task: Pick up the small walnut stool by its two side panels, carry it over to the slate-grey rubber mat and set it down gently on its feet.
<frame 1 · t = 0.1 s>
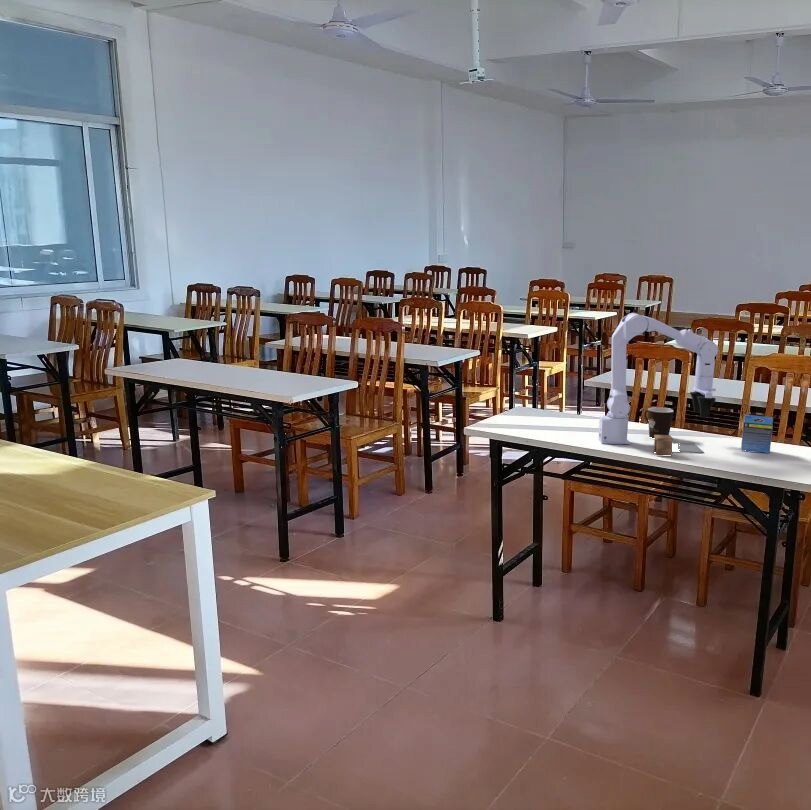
hand: (700, 415, 281), 10 cm above the table, tool pointing down, fingers open, 7 cm apart
mat: (680, 448, 277), on the table
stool: (662, 454, 269), on the table
label tape box: (755, 451, 274), on the table
coffee mug: (657, 437, 293), on the table
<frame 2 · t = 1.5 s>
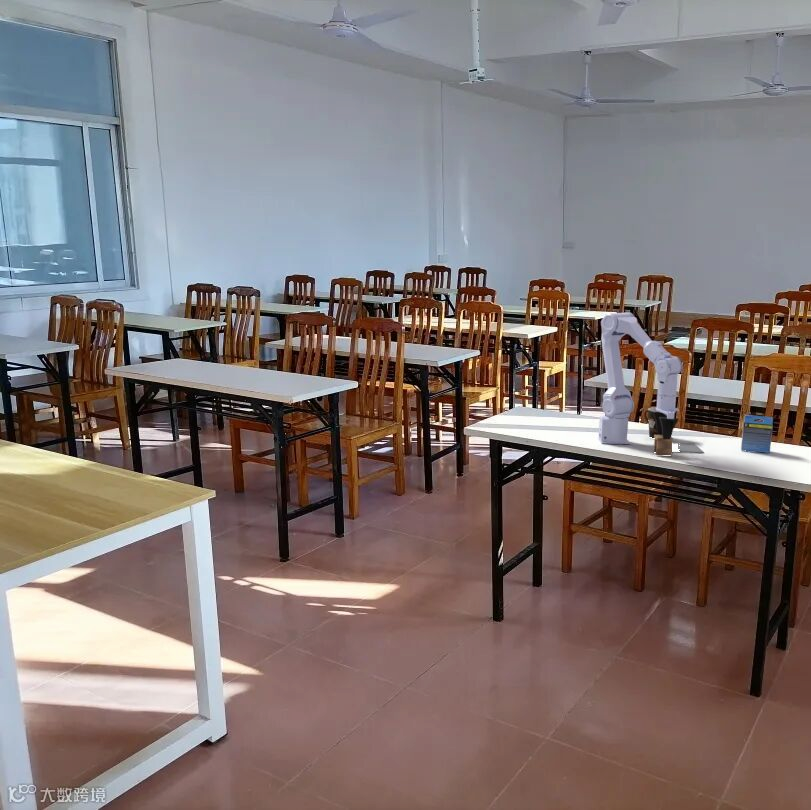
hand: (663, 436, 267), 6 cm above the table, tool pointing down, fingers open, 7 cm apart
nothing on the table moved.
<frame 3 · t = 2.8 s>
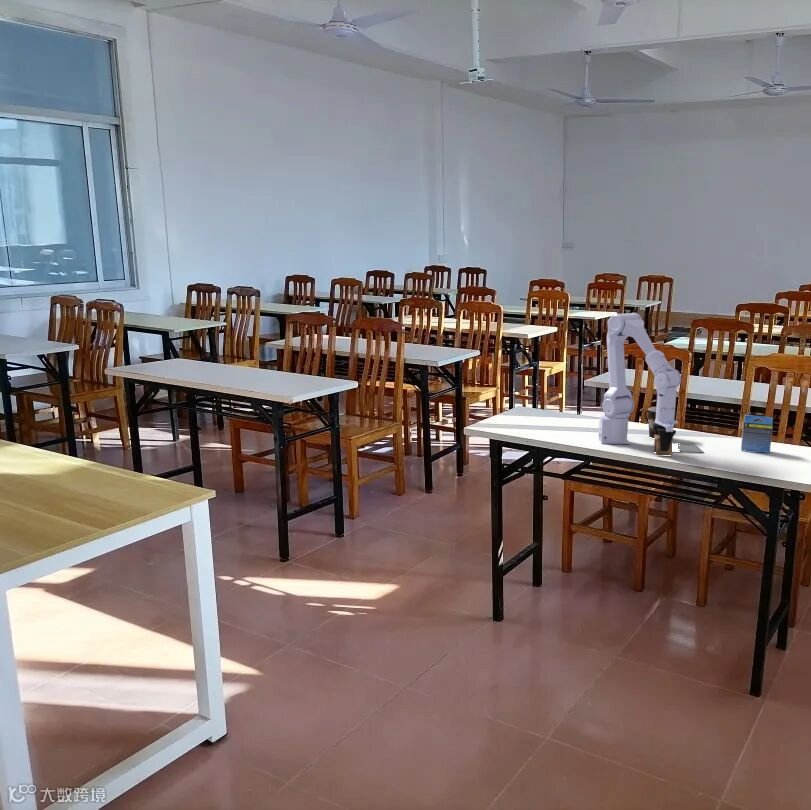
hand: (662, 448, 268), 2 cm above the table, tool pointing down, fingers closed on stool, 4 cm apart
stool: (662, 454, 269), on the table, touching gripper
everything else where it was.
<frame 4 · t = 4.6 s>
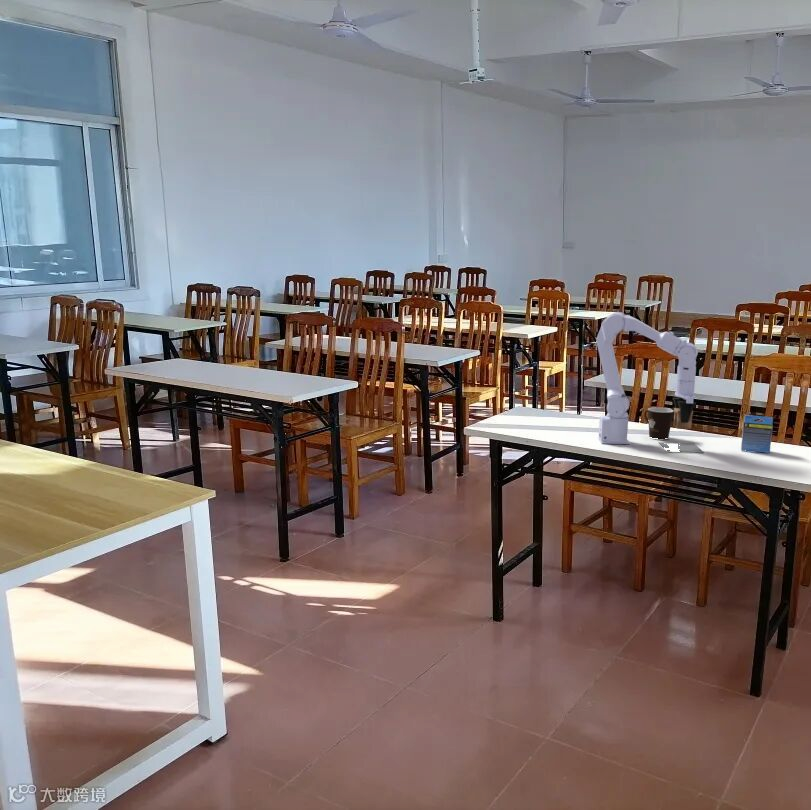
hand: (682, 420, 275), 9 cm above the table, tool pointing down, fingers closed on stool, 4 cm apart
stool: (682, 427, 275), point 7 cm above the table, touching gripper
everything else where it was.
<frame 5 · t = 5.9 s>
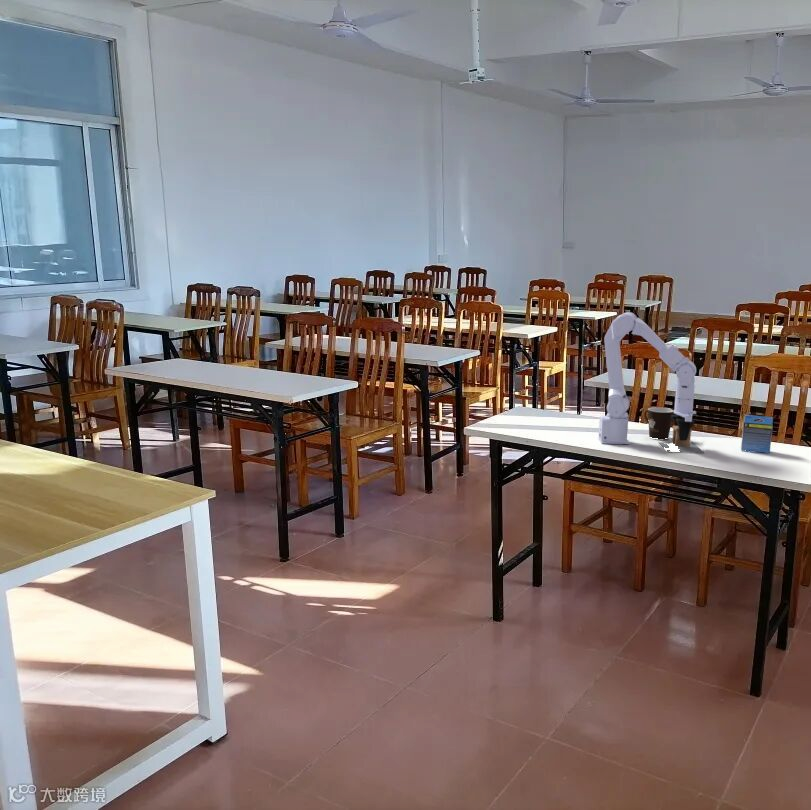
hand: (681, 438, 276), 3 cm above the table, tool pointing down, fingers closed on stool, 4 cm apart
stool: (680, 444, 277), point 1 cm above the table, touching gripper
everything else where it was.
when the fingers open (3 cm above the table, at t = 6.5 s): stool stays where it is, resting on mat.
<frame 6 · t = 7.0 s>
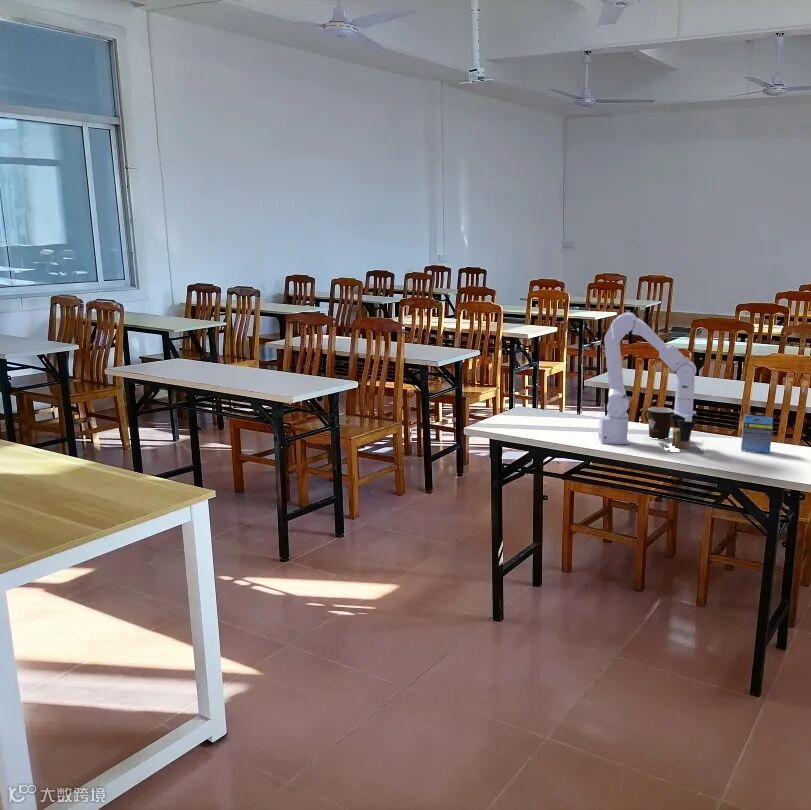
hand: (681, 438, 276), 3 cm above the table, tool pointing down, fingers open, 7 cm apart
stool: (680, 447, 277), resting on mat
everything else where it was.
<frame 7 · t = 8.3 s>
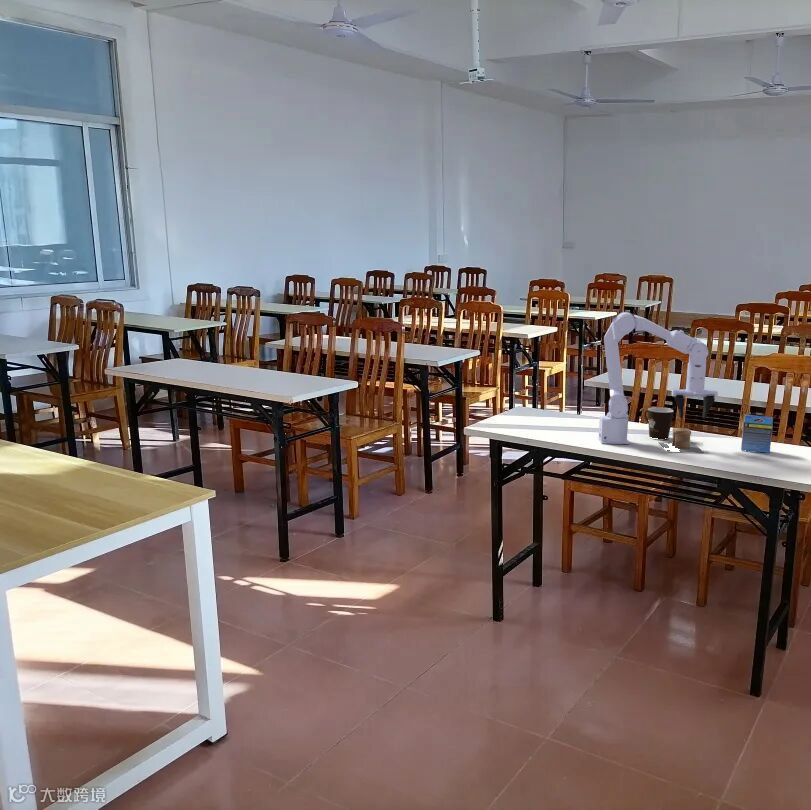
hand: (692, 417, 278), 10 cm above the table, tool pointing down, fingers open, 7 cm apart
nothing on the table moved.
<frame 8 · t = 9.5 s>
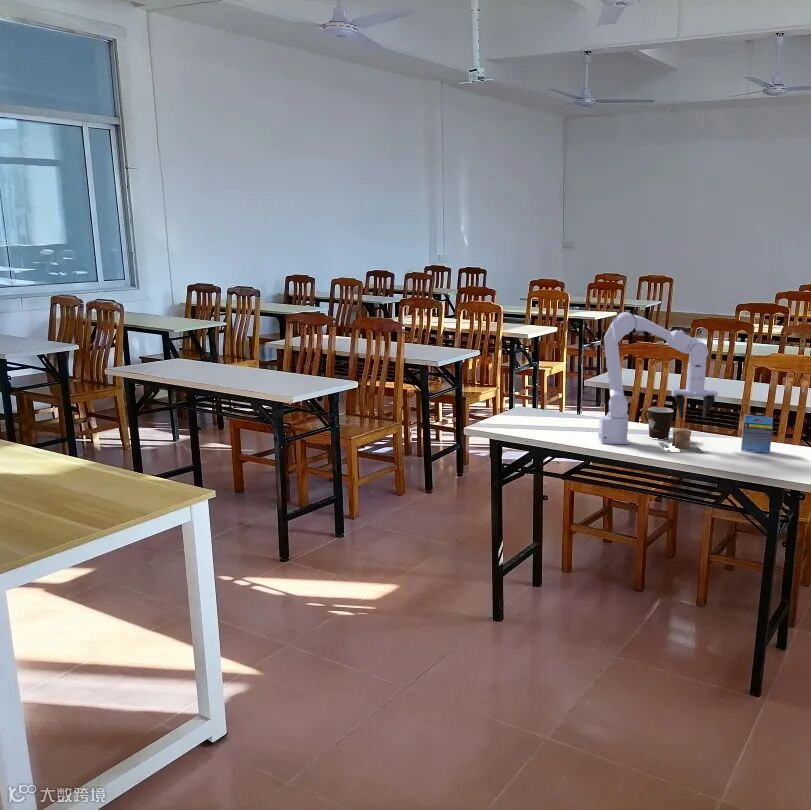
hand: (692, 417, 278), 10 cm above the table, tool pointing down, fingers open, 7 cm apart
nothing on the table moved.
at the end: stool inside the target area on the mat (0.0 cm from its centre), point 0.4 cm above the mat's base; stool tilted 0°; the gripper is holding nothing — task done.
